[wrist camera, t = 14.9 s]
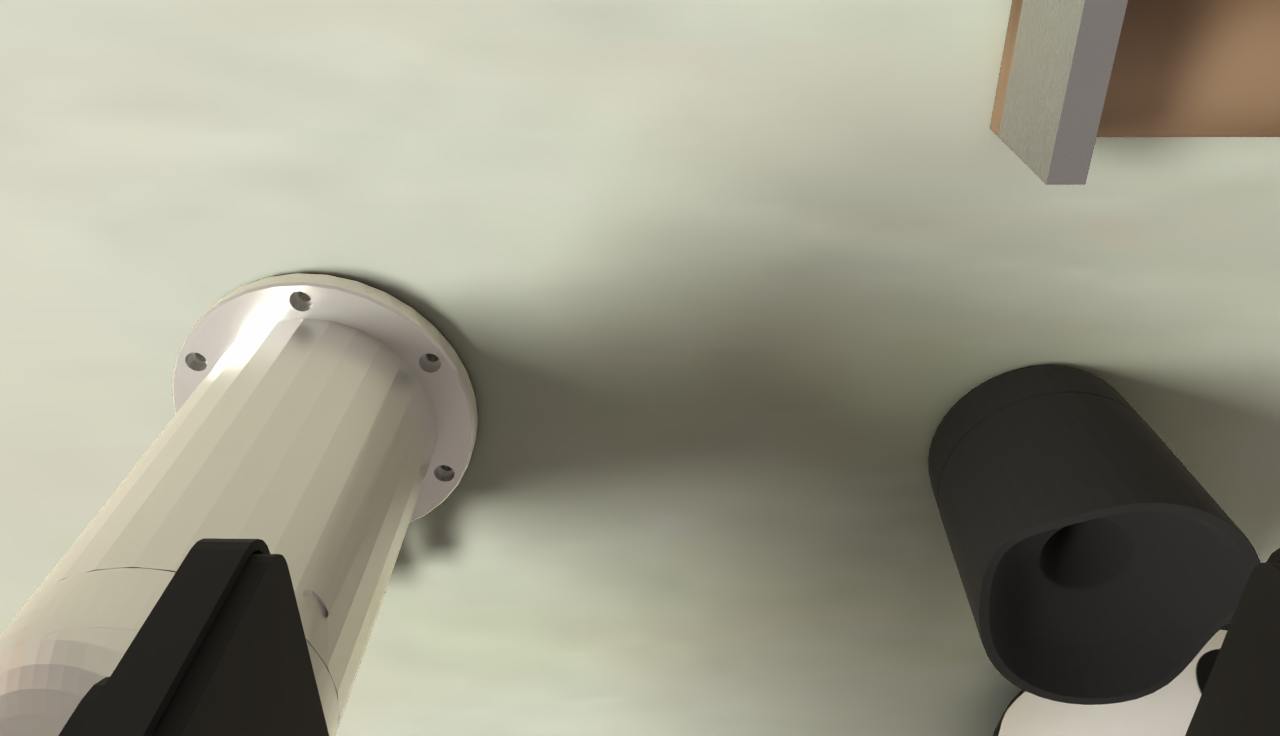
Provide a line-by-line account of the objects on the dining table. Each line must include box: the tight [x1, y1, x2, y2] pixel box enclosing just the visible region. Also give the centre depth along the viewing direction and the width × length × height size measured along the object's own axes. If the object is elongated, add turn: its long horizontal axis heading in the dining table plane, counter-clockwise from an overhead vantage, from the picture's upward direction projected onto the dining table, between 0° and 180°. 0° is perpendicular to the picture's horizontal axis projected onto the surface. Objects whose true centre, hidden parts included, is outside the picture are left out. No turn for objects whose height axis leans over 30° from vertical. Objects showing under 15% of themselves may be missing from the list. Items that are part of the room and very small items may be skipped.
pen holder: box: [928, 366, 1260, 705], centre depth 38 cm, size 9×9×10 cm
